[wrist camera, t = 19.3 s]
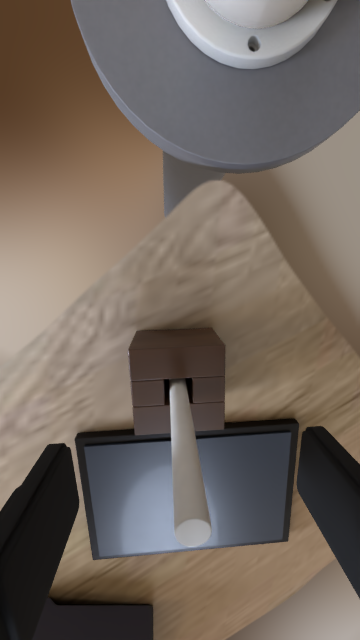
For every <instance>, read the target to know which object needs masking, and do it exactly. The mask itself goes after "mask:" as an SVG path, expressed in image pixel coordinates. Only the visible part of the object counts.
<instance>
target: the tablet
mask: <svg viewBox="0 0 360 640" xmlns="http://www.w3.org/2000/svg"><path fill="white" fill-rule="evenodd" d="M298 430H299V423H298V422H297V421H296V420H295V419H280V420H265V421H250V422H235V423H224V429H221V430H206V431H195V437H196V443H197V448H198V454H199V459H200V465H201V471H202V476H203V482H204V488H205V493H206V499H207V504H208V510H209V516H210V521H211V527H212V532H211V536H210V538H209V539H208V540H207V541H206V542H205V543H203V544H201V545H199V546H195V547H188V546H184V545H182V544H180V543H179V542H178V541H177V539H176V537H175V533H174V504H173V474H172V445H171V433H162V434H148V435H135V430H134V429H131V430H116V431H101V432H86V433H78V434H77V436H76V438H75V444H76V451H77V457H78V464H79V470H80V477H81V484H82V490H83V497H84V504H85V510H86V517H87V524H88V530H89V537H90V544H91V550H92V557H93V560H98V559H109V558H119V557H130V556H140V555H151V554H161V553H172V552H182V551H193V550H203V549H214V548H224V547H235V546H245V545H256V544H266V543H277V542H287V541H288V537H289V527H290V516H291V505H292V494H293V484H294V473H295V462H296V451H297V441H298Z"/></svg>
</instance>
